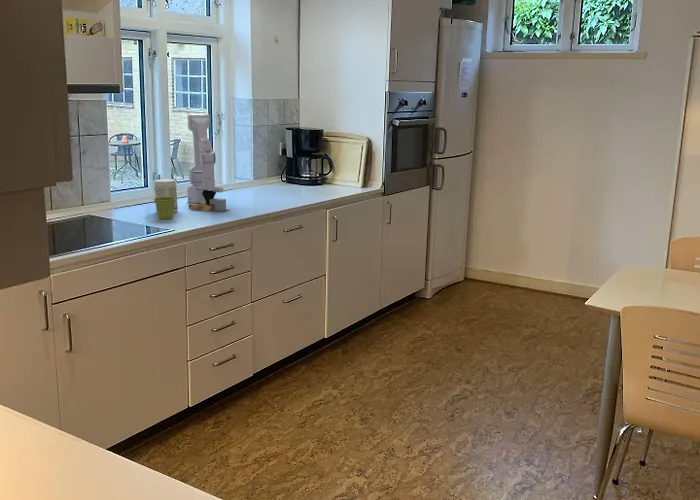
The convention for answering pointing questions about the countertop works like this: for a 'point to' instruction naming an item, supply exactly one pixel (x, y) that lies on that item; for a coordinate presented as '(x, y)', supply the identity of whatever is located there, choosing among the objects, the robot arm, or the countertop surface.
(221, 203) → the block
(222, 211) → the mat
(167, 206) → the plant pot
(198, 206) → the chute
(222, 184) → the countertop surface
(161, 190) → the supplement tub
